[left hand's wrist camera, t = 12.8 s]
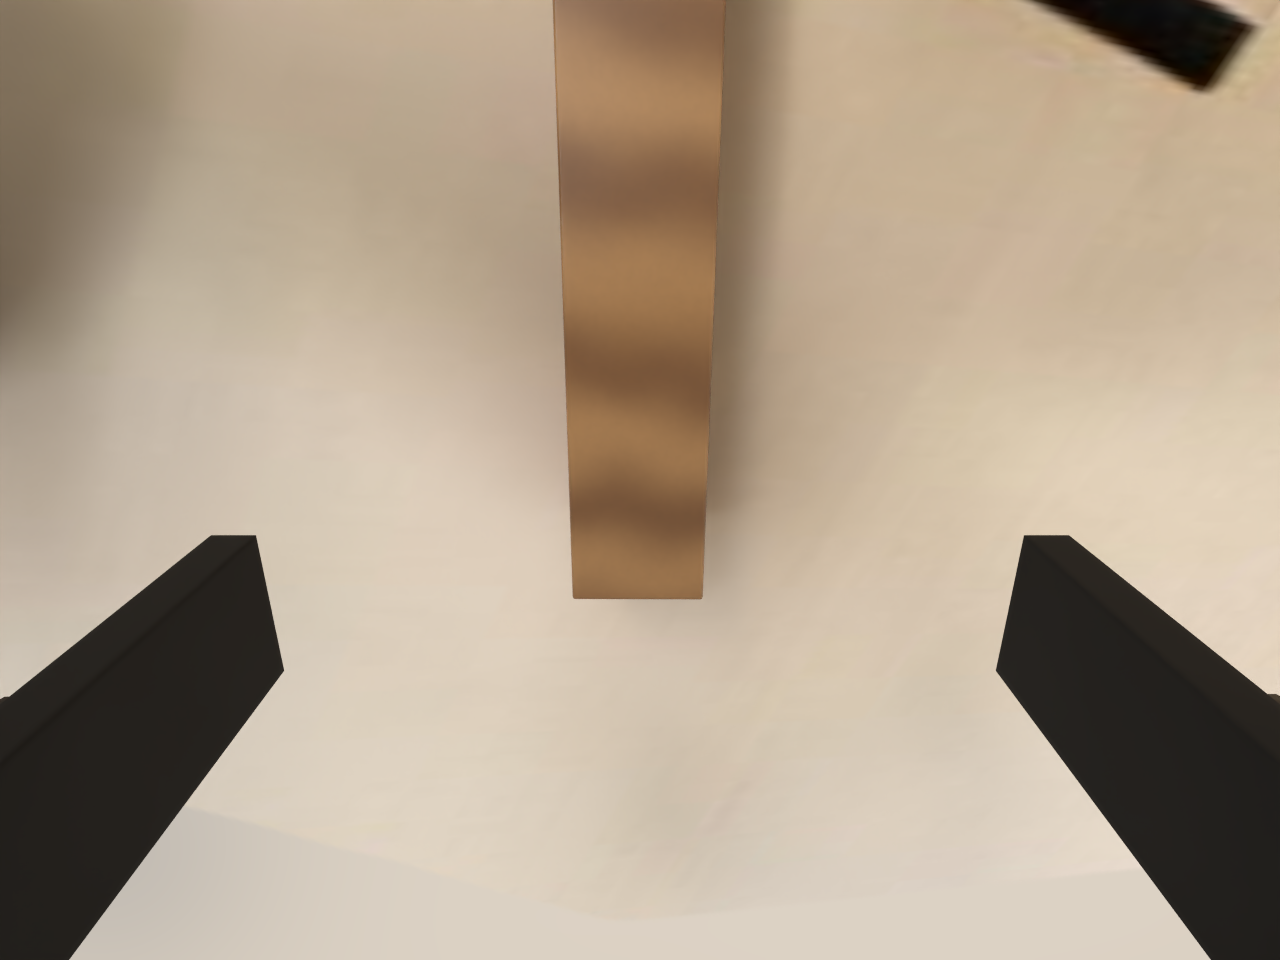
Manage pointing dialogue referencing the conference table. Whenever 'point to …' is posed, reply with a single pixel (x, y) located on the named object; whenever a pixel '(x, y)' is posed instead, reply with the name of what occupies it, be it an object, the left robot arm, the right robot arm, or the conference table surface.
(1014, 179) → the conference table surface
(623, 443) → the bar
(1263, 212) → the conference table surface
